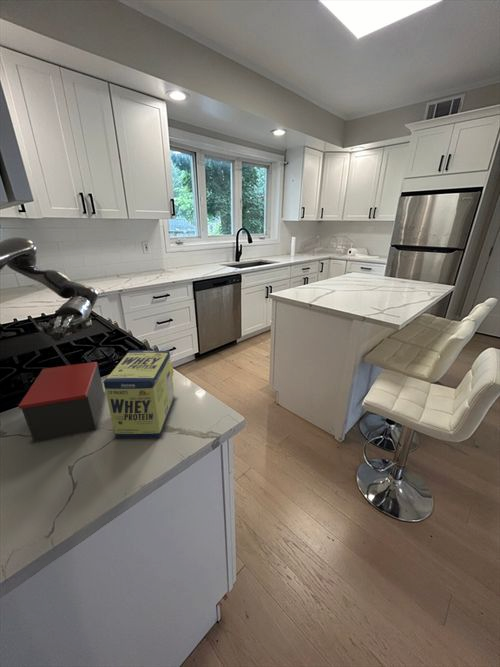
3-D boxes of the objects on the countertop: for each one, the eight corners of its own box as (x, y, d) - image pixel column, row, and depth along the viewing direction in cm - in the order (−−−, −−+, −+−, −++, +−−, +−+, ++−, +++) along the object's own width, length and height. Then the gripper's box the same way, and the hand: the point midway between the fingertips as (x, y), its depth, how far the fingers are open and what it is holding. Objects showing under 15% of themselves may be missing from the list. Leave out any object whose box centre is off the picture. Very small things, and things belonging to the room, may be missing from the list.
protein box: (115, 439, 64) (101, 381, 58) (138, 399, 78) (129, 349, 72) (160, 439, 64) (152, 381, 58) (175, 398, 78) (170, 349, 72)
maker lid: (86, 397, 62) (85, 394, 62) (19, 409, 58) (18, 406, 58) (97, 363, 76) (96, 361, 76) (43, 371, 72) (43, 368, 72)
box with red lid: (96, 429, 66) (87, 395, 63) (34, 442, 63) (20, 406, 59) (104, 393, 80) (97, 364, 76) (53, 402, 76) (43, 371, 72)
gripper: (100, 324, 85) (90, 347, 70) (50, 329, 81) (28, 354, 66) (95, 300, 82) (84, 319, 67) (43, 304, 78) (18, 325, 63)
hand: (56, 336), depth 66 cm, fingers closed
